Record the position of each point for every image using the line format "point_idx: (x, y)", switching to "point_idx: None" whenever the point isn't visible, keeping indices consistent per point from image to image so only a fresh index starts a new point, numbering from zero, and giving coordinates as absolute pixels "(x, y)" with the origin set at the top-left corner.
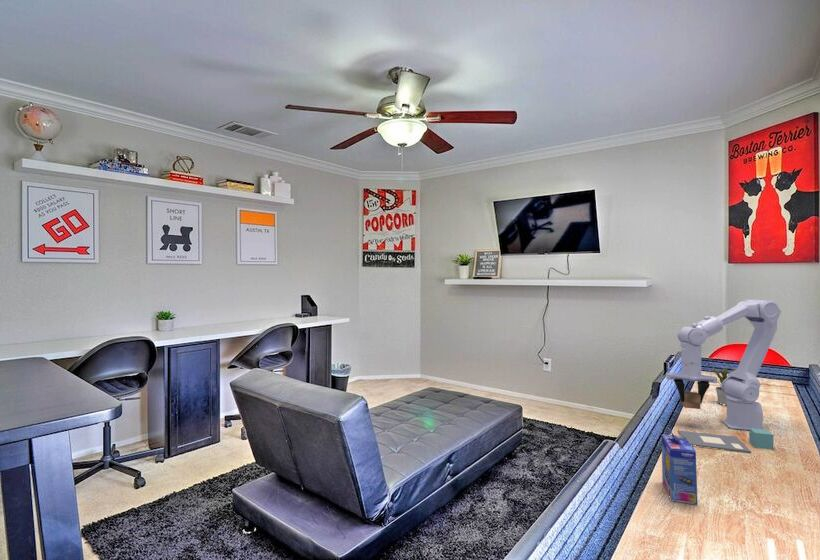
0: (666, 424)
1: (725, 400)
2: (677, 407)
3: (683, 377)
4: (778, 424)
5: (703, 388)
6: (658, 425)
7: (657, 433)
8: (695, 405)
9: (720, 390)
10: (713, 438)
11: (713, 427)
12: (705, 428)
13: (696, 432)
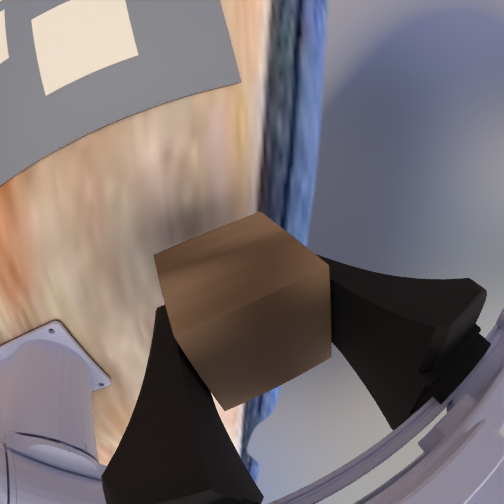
0: (287, 179)
1: None
2: (255, 399)
3: (500, 392)
4: None
5: (164, 434)
6: (315, 141)
7: (312, 25)
8: (193, 253)
9: None
10: (73, 62)
11: (105, 289)
12: (128, 246)
13: (153, 105)
